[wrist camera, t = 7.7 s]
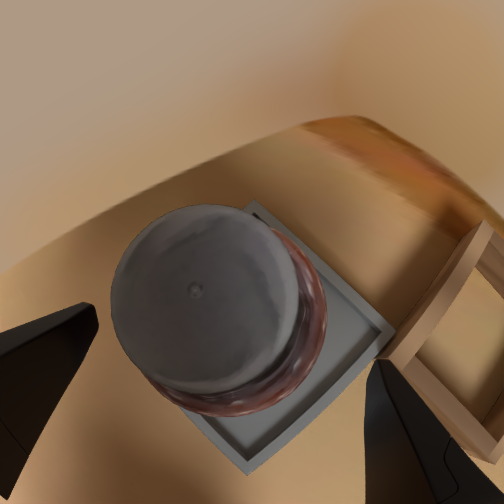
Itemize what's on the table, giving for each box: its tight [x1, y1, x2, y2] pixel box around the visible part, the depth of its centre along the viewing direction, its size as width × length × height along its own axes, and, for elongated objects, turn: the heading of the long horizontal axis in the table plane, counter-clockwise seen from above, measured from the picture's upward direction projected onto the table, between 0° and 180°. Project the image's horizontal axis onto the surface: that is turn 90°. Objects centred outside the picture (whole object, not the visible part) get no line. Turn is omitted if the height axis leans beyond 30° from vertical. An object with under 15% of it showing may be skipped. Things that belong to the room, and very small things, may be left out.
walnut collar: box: [372, 219, 504, 465], centre depth 14 cm, size 10×10×3 cm
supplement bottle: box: [111, 204, 327, 417], centre depth 11 cm, size 6×6×11 cm
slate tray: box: [178, 199, 396, 475], centre depth 17 cm, size 11×11×2 cm
